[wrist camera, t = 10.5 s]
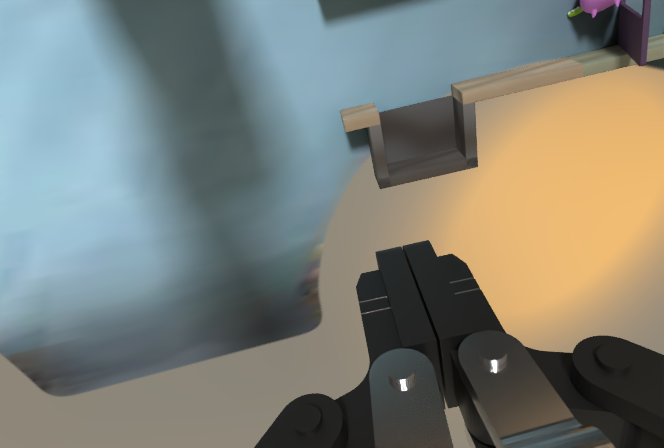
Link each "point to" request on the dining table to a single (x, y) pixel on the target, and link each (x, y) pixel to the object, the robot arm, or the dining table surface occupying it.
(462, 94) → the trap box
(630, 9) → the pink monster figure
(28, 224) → the dining table surface
